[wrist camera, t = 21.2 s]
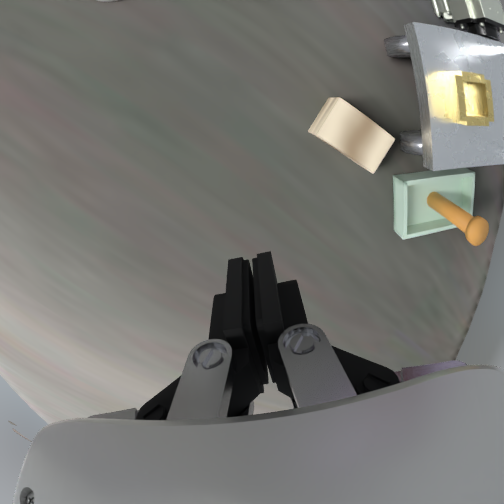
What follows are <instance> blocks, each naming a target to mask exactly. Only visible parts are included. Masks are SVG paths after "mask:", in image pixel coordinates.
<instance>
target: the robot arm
mask: <svg viewBox="0 0 504 504" xmlns="http://www.w3.org/2000/svg"><path fill="white" fill-rule="evenodd" d="M96 1H101V2H112V1H118V0H96ZM252 262H253V275H252V271H251V267H250V263H249V260H243V257H240V258H235V259H230V260H228V271H227V283H226V293H223V294H218V295H215V296H214V300H213V308H212V316H211V324H210V332H209V340H206V341H203V342H201V343H199V344H198V345H196V346H195V347H194V348H193V349H192V350H191V352H190V354H189V355H188V358H187V361H186V364H185V367H184V370H183V372H182V375H181V376H180V377H179V378H177V379H176V380H175V381H174V382H172V383H171V384H170V385H169V386H167V387H166V388H165V389H163V390H162V391H161V392H160V393H158V394H157V395H156V396H154V397H153V398H152V399H151V400H149V401H148V402H147V403H145V404H144V405H143V406H142V407H141V408H140V410H136V409H135V408H132V409H127V410H122V411H116V412H111V413H105V414H99V415H93V416H90V417H88V418H76V419H68V420H62V421H59V422H55V423H52V424H49V425H47V426H45V427H43V428H42V429H41V430H40V431H39V432H38V433H37V434H36V436H35V438H34V439H33V441H32V443H31V445H30V447H29V450H28V452H27V454H26V457H25V459H24V462H23V465H22V468H21V472H20V475H19V478H18V482H17V486H16V490H15V494H14V498H13V503H12V504H504V369H502V368H500V367H497V366H492V365H467V364H466V363H464V362H461V361H447V362H441V363H435V364H428V365H421V366H414V367H406V368H402V369H401V371H398V372H393V371H392V370H390V369H389V368H387V367H384V366H382V365H379V364H376V363H374V362H371V361H369V360H366V359H363V358H361V357H358V356H356V355H353V354H351V353H348V352H346V351H343V350H341V349H338V348H336V347H334V346H331V344H330V343H329V341H328V339H327V337H326V335H325V333H324V332H323V331H322V330H321V328H319V327H317V326H315V325H312V324H308V322H307V318H306V314H305V310H304V306H303V303H302V299H301V295H300V291H299V288H298V284H297V280H291V281H286V282H281V283H277V279H276V275H275V270H274V265H273V260H272V255H271V251H270V252H265V253H260V254H257V258H253V259H252ZM267 365H268V368H269V372H270V375H271V378H272V382H273V383H275V382H276V384H277V387H278V391H280V392H282V393H283V394H285V395H287V396H289V397H290V399H291V403H292V406H293V409H290V410H284V411H278V412H271V413H264V414H256V415H253V411H254V402H253V400H254V399H255V398H256V397H257V396H258V395H259V394H260V393H264V386H263V384H268V369H267Z"/></svg>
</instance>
